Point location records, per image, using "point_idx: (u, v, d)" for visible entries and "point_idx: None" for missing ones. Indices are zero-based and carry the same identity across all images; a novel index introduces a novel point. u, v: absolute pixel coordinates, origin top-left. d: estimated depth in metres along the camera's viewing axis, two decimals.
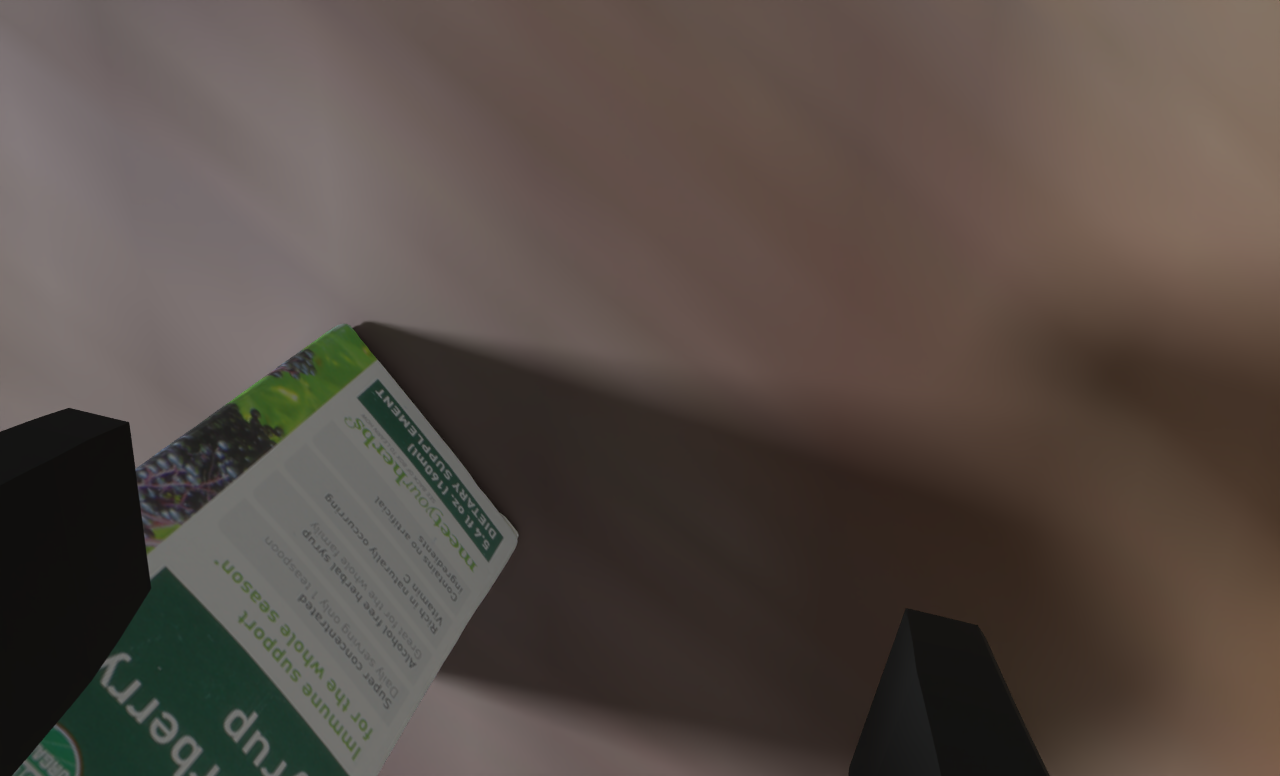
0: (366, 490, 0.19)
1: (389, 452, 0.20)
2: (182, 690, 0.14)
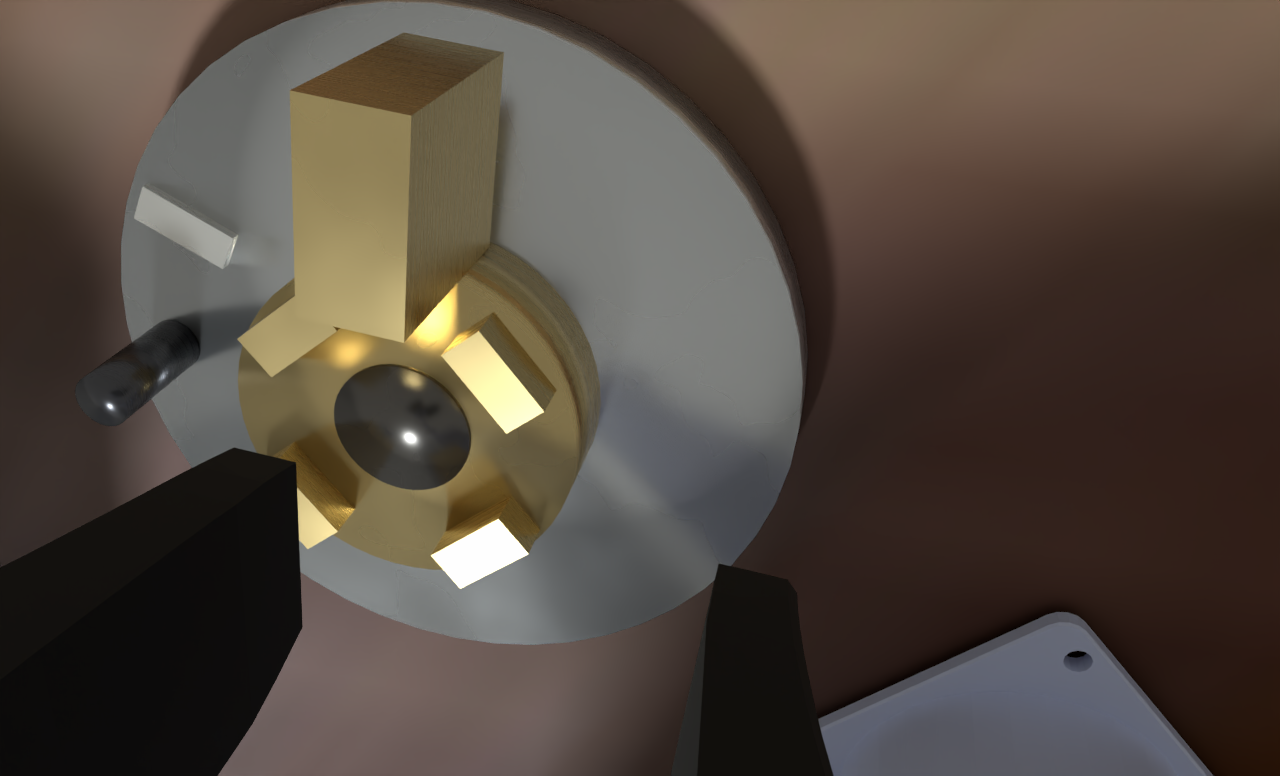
0: None
1: None
2: None
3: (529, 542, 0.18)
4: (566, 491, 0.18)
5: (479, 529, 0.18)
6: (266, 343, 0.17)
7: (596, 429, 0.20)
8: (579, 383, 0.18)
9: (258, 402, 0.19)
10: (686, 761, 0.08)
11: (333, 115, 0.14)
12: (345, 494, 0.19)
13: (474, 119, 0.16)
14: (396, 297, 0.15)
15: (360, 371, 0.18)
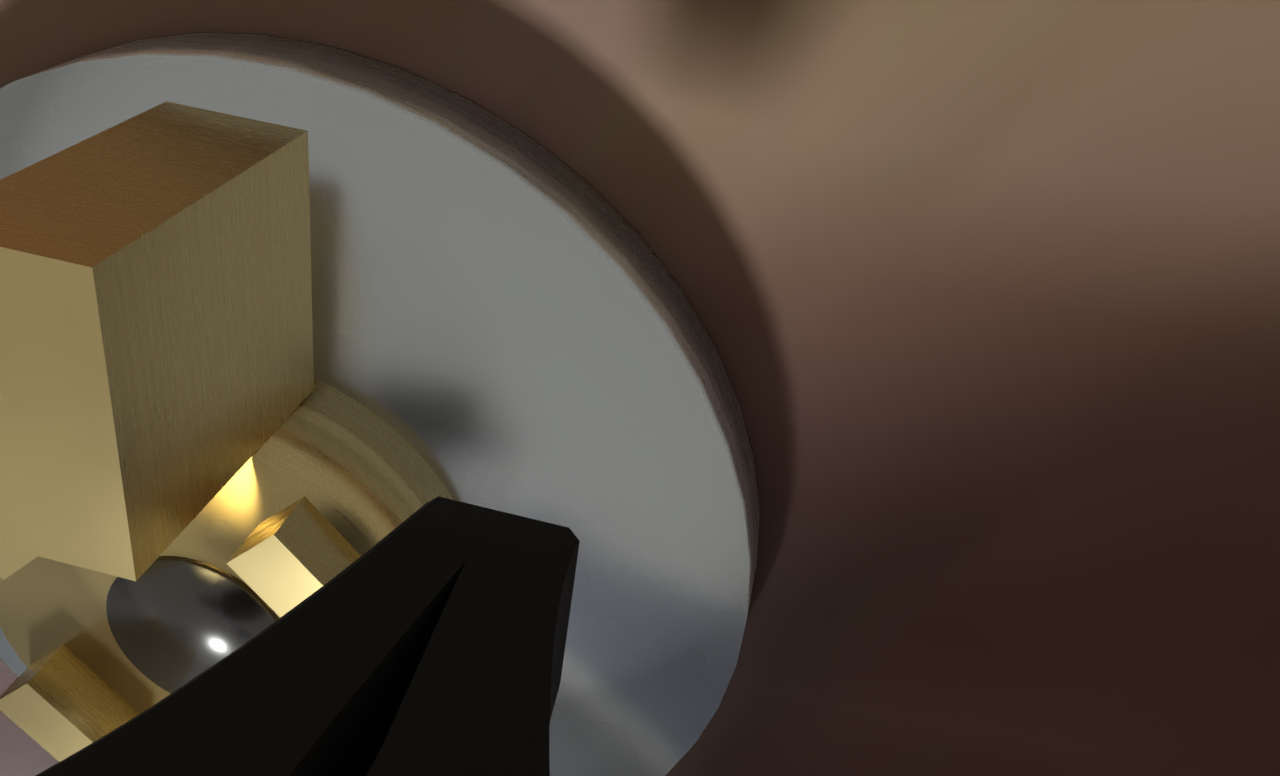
0: None
1: None
2: None
3: None
4: None
5: None
6: None
7: None
8: None
9: (9, 595, 0.14)
10: None
11: None
12: (138, 709, 0.14)
13: (254, 235, 0.11)
14: (115, 522, 0.10)
15: None
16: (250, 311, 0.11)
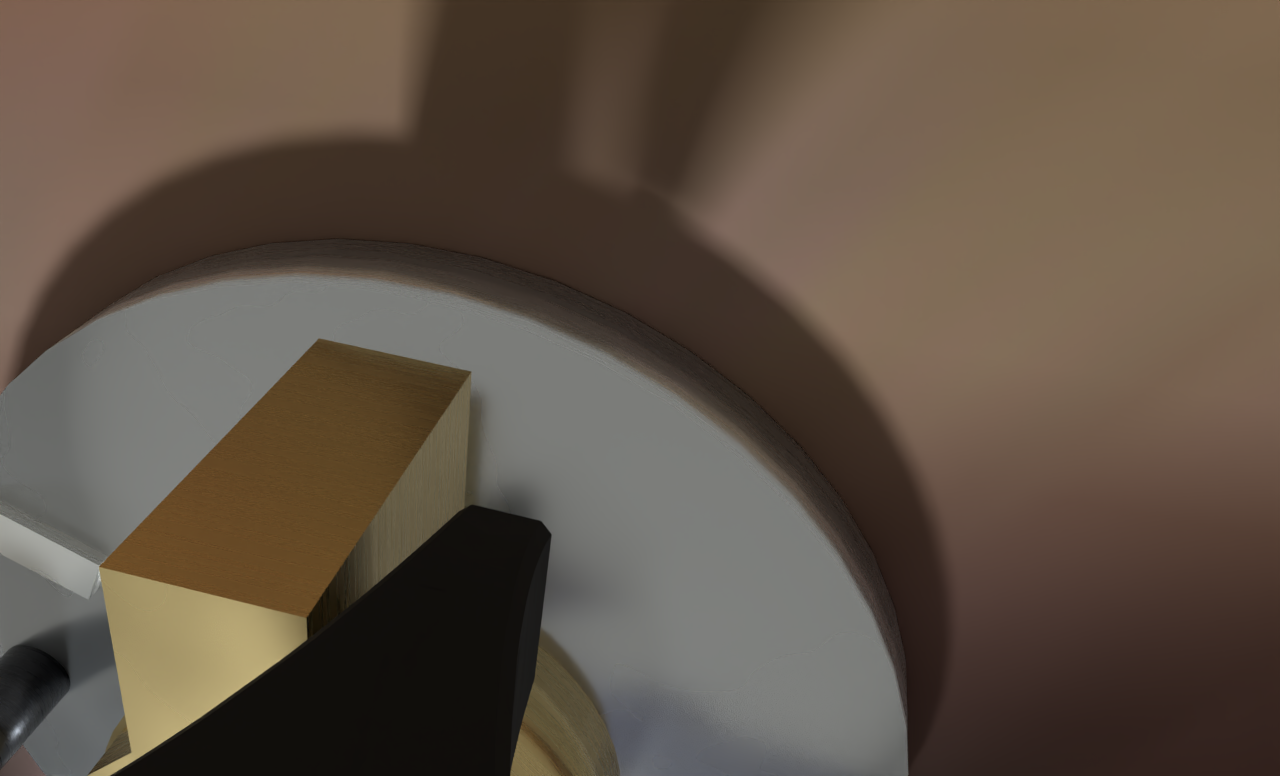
0: None
1: None
2: None
3: None
4: None
5: None
6: None
7: None
8: None
9: None
10: None
11: (174, 604, 0.08)
12: None
13: (427, 498, 0.10)
14: None
15: None
16: None
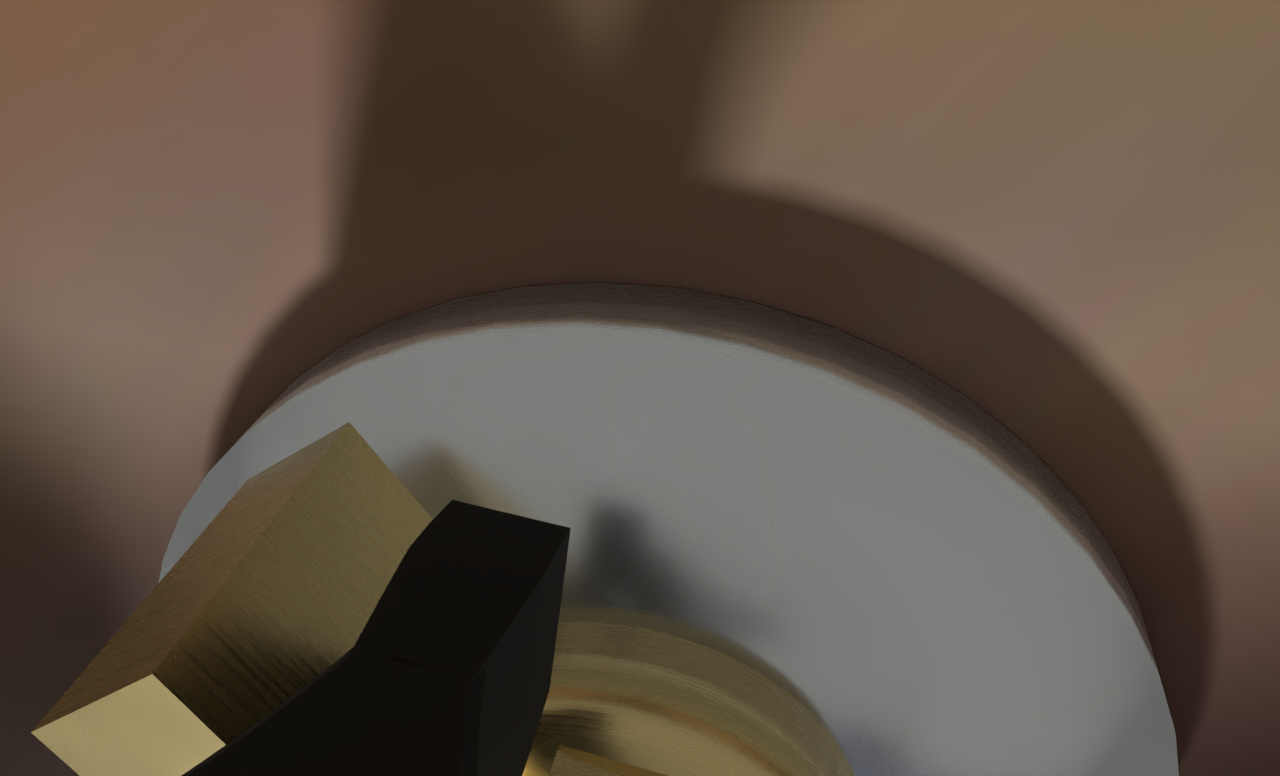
0: None
1: None
2: None
3: None
4: None
5: None
6: None
7: (842, 754, 0.13)
8: (752, 741, 0.11)
9: None
10: None
11: (90, 727, 0.09)
12: None
13: (347, 542, 0.11)
14: None
15: None
16: None
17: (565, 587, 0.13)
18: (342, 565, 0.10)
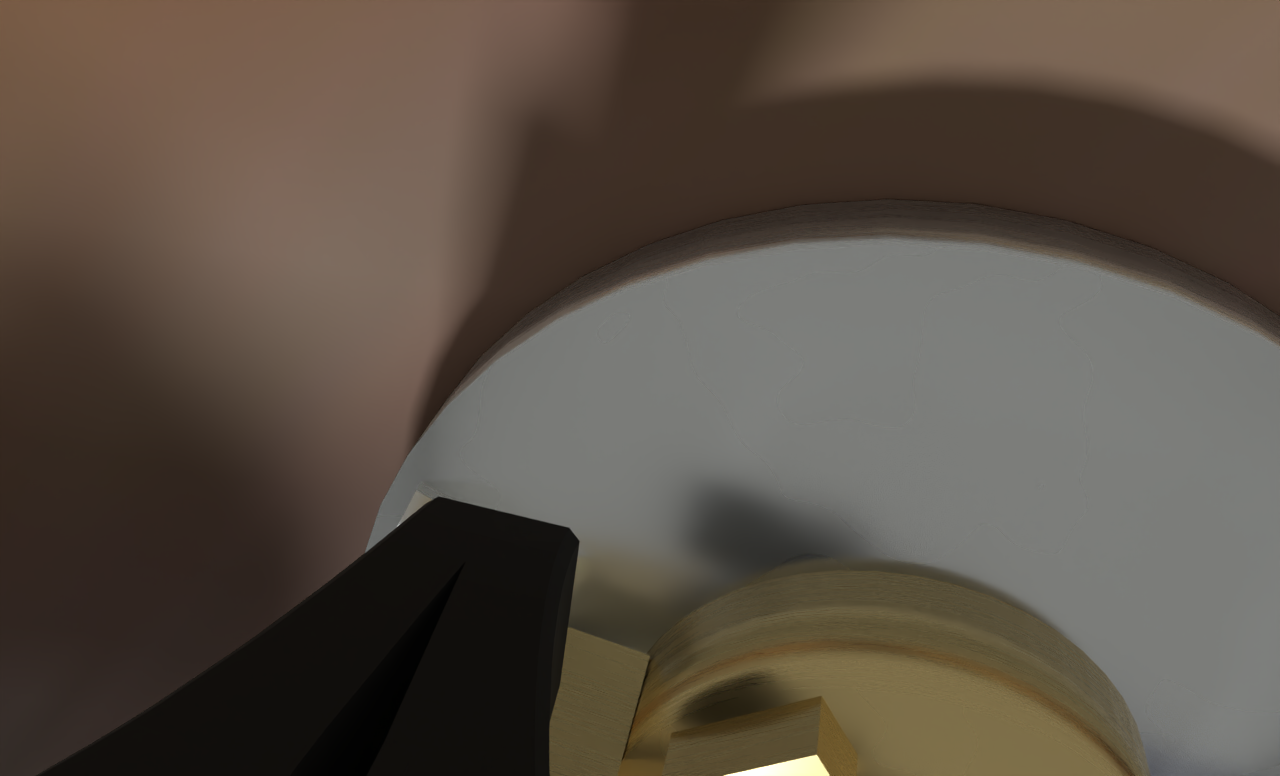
0: None
1: None
2: None
3: None
4: (1036, 740, 0.10)
5: None
6: None
7: (999, 602, 0.11)
8: (857, 633, 0.11)
9: None
10: None
11: None
12: None
13: None
14: None
15: None
16: None
17: (834, 534, 0.12)
18: None
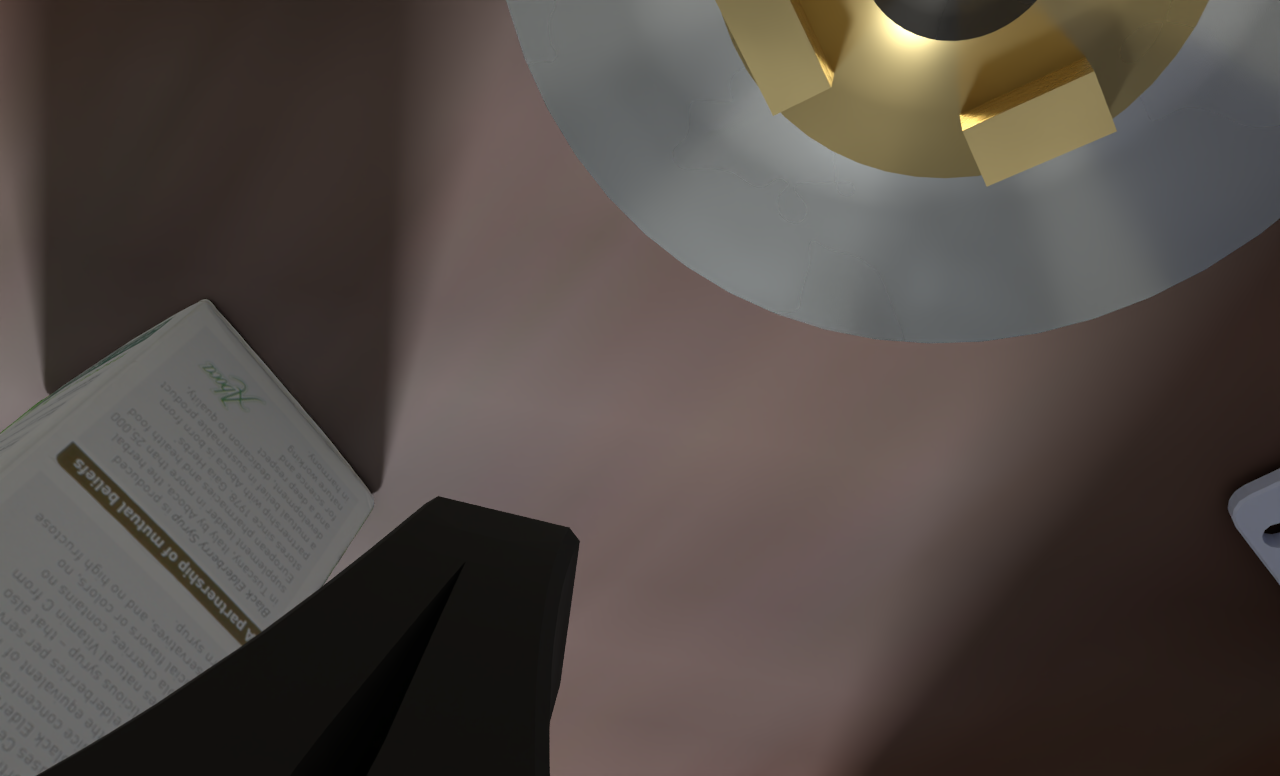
0: (5, 433, 0.20)
1: (43, 403, 0.21)
2: None
3: None
4: None
5: None
6: (782, 76, 0.14)
7: None
8: None
9: (892, 145, 0.14)
10: None
11: None
12: (1057, 63, 0.14)
13: None
14: None
15: None
16: None
17: None
18: None
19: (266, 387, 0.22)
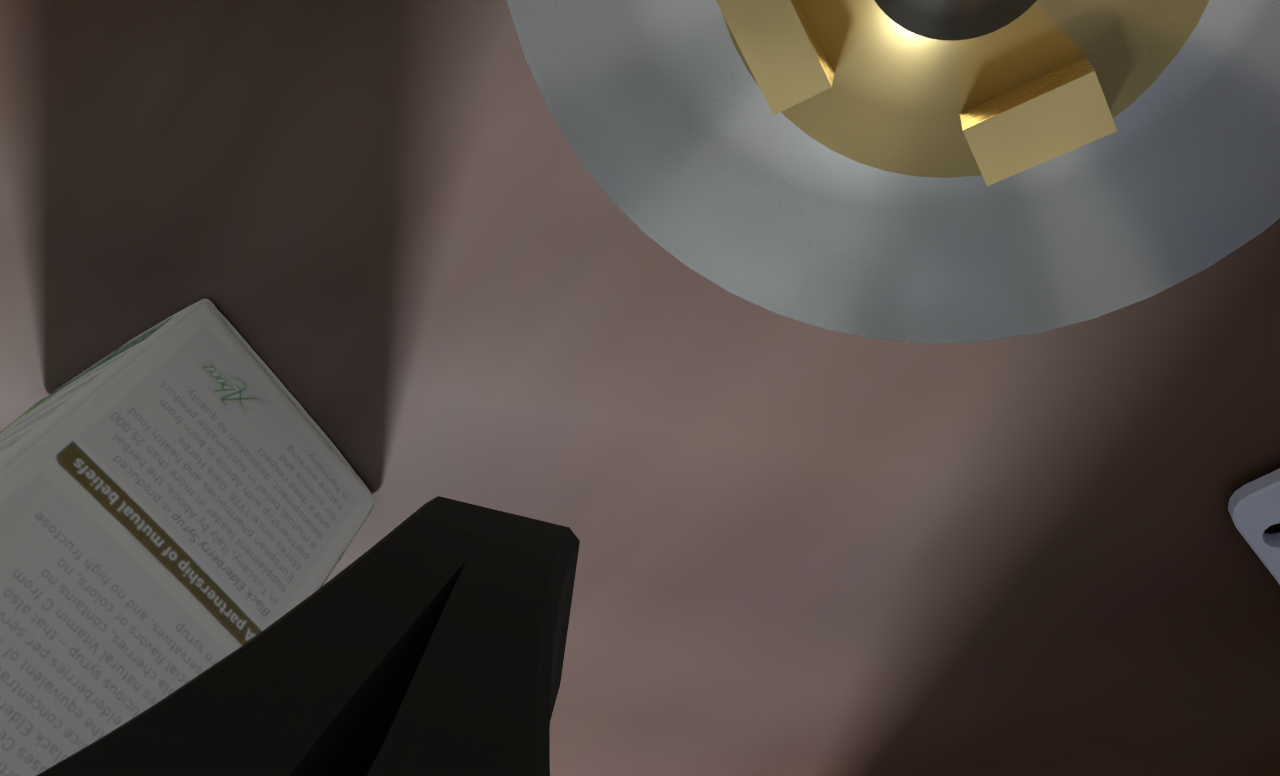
0: (4, 433, 0.20)
1: (43, 402, 0.21)
2: None
3: None
4: None
5: None
6: (782, 76, 0.14)
7: None
8: None
9: (893, 145, 0.14)
10: None
11: None
12: (1057, 62, 0.14)
13: None
14: None
15: None
16: None
17: None
18: None
19: (266, 386, 0.22)
